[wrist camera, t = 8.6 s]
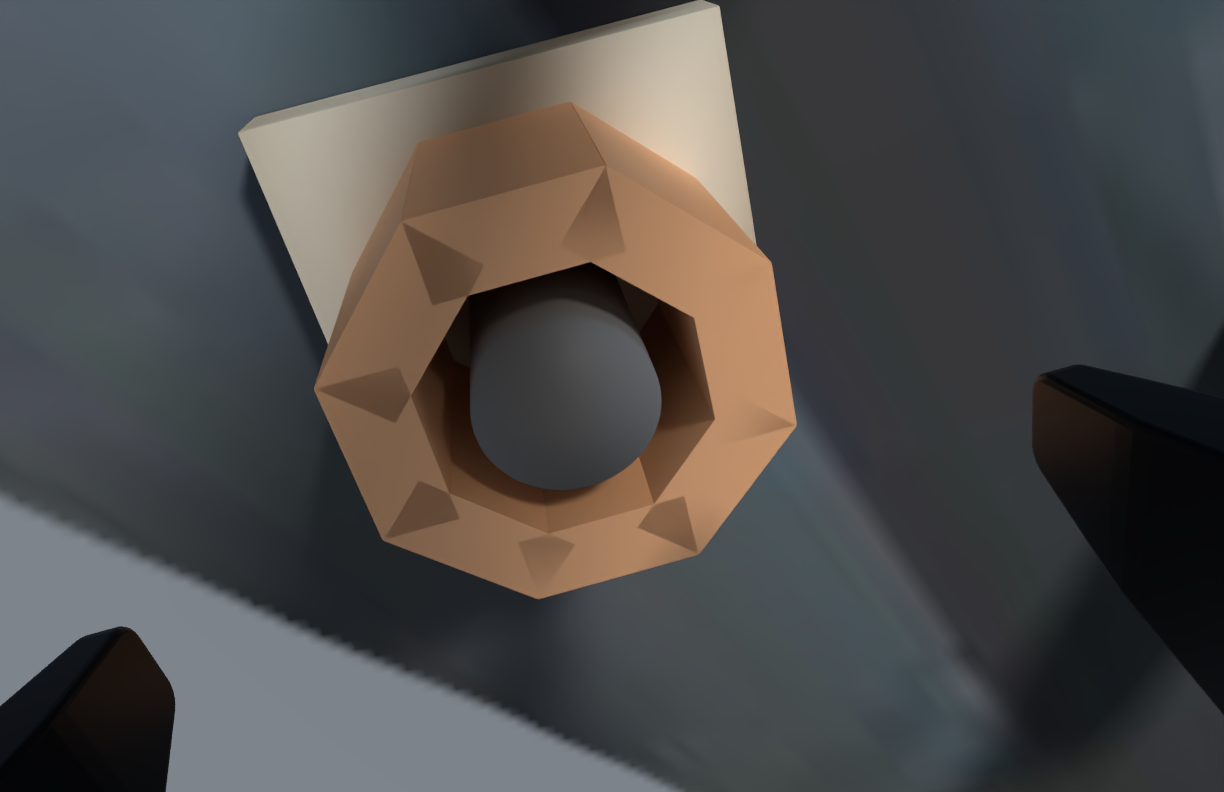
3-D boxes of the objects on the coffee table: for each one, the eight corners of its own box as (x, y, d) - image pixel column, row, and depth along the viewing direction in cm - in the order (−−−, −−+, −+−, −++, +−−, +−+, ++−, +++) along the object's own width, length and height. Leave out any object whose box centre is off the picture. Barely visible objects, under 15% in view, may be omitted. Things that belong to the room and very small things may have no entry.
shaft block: (700, -1, 18) (811, 37, 12) (764, 389, 22) (867, 553, 16) (254, 117, 18) (152, 211, 12) (407, 486, 22) (386, 685, 16)
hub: (676, 71, 17) (750, 125, 12) (737, 392, 20) (811, 522, 16) (310, 171, 17) (254, 260, 12) (433, 476, 20) (424, 631, 16)
